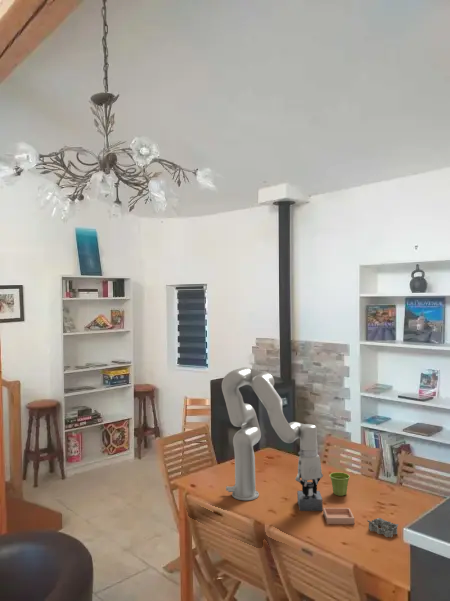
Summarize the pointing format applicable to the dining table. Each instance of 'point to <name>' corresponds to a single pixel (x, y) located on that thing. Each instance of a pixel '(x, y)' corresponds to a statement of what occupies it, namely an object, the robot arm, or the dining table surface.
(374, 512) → the dining table surface
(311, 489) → the pin
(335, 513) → the tray
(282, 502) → the dining table surface
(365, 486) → the dining table surface
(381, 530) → the egg carton
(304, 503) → the socket block
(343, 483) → the plant pot
